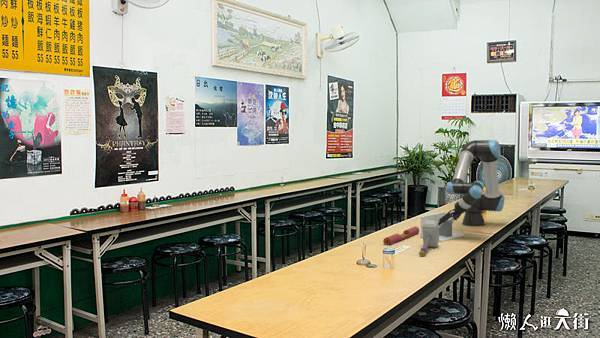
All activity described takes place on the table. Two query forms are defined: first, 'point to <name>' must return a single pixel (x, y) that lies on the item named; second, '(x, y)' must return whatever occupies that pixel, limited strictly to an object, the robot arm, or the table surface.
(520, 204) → the table surface
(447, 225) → the block
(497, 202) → the robot arm
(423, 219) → the rail panel
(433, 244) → the grey angled piece
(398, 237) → the blood vessel
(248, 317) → the table surface
